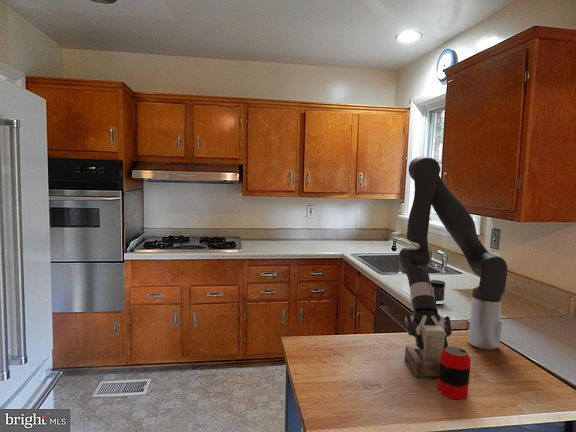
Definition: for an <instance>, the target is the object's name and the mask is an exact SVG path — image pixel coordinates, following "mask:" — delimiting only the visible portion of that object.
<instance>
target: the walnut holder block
mask: <svg viewBox="0 0 576 432" xmlns="http://www.w3.org/2000/svg"><path fill="white" fill-rule="evenodd" d="M404 350H405V351H404V360H405V362H406V364H407V366H408V367H409V368H410V370H411V372H412V373H413V375H414V377H415V379H418V380H419V379H422V380H425V379H426V380H439V368H440V362H436V361H422V360H421V359H420V357H419V356H418V353H419V347H417V345H405V349H404Z"/></svg>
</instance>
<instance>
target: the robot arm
mask: <svg viewBox="0 0 576 432" xmlns="http://www.w3.org/2000/svg"><path fill="white" fill-rule="evenodd" d="M440 173H441V166H440V163H439V162H438V161H437V160H436V158H433V157H430V156H423V155H422V156H417V157H415V158H413V159H412V160H411V161H410V162H409V165H408V174H409V176H410V178H411V179H412V180H413V182H414V195H413V199H412V200H413V201H412V205H411V207H410V210H409V211H410V212H409V215H408V220H407V229H406V239H407V240H408V242H411V243H415V244H418V245H419V246H418V247H403V248H401V250H400V251H399V254H398V259H399V260H398V261H399V263H400V265H401V267H402V270H403V271H404V272H405V275H406V277H407V280H408V285H409V294H410V295H409V296H410V301H411V306H412V307H411V308H412V313H413V315H410V314H406V316H405V317H404V322H405V325H406V330H407V334H408V335H409V336H411V337H414V339H415V343H416V344H415V346H417V347H419V349H423V342H422V337H421V335H420V333H421V325H435V326H441V327H442V328H443V329H444V330H445V340H444V349H445V348H446V347H449V343H448V339H447V338H449V337H450V336H451V335H452V332H453V331H452V326H451V318H450V316H449V315H447V316H445V317H443V316H441V315H440V314H439V311H438V306H437V305H436V301H435V297H434V292H433V289H432V287H431V283H430V281H431V280H430V275H429V271H427V270H425V269H423V268H427V267H428V265H429V264H430V262H431V255H430V249H429V243H428V242H429V240H428V236H429V235H428V234H429V225H430V218H431V217H430V216H431V211H432V209H433V210H434V212H435V214H436V215H437V217H438V219H439V220H440V222H441V223H442V225H443V226H444V228H445V229H446V231H447V232H448V234H450V237H451V238H452V239H453V241H454V242H455V243H456V245H457V246H458V247H459V249H460V250H461V252H462V253H463V255H464V258H465V260H466V262H467V263H468V265H469V267H470V269H471V271H472V273H474V274H475V275H476V276H477V277H479V278H480V279H479V283H478V286H475V287H474V288H473V289H472V292H471V293H472V294H471V295H472V296H471V307H470V308H471V309H470V319H469V331H468V343H469V344H470V345H471V346H473V347H476V348H477V349H483V350H489V351H490V350H491V351H492V350H495V349H500V347H501V339H502V338H501V336H502V327H503V324H502V321H501V320H500V318H501V309H502V308H501V306H502V297H503V295H504V294H505V291H506V285H507V278H508V264H507V261H506V260H505V259H504V258H503V257H501V256H498V255H495V254H494V253H493V254H492V253H490V252H489V251H488V250H487V249H486V247H485V246H484V245H483V243H482V242H481V240H480V239H479V237H478V233H477V228H476V224H475V221H474V219H473V217H472V216H471V214H470V212H469V211H468V210H467V208H466V206H465V205H464V203H462V201H461V200H460V199H459V198H458V197H457V196H456V195H455V194H454V193H453V192H452V190H450V189H449V187H447V185H446V184H445V183H444V181H443V179H442V178H441V176H440ZM413 321H414V322H415V323H416V324H417V327H416V329H414V325H413ZM440 322H441V324H442V325H443V326H442V325H441V324H440Z"/></svg>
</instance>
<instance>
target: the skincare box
mask: <svg viewBox="0 0 576 432" xmlns="http://www.w3.org/2000/svg"><path fill="white" fill-rule="evenodd" d="M441 326H442V325H441ZM441 326H435V325H421V333H420V335H421V337H422V342H423V349H419V353H418V356H419V357H420V359H421V360H422V361H436V362H440V355H441V351H442V350H444V340H445V330H444V327H443V326H442V327H441Z"/></svg>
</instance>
